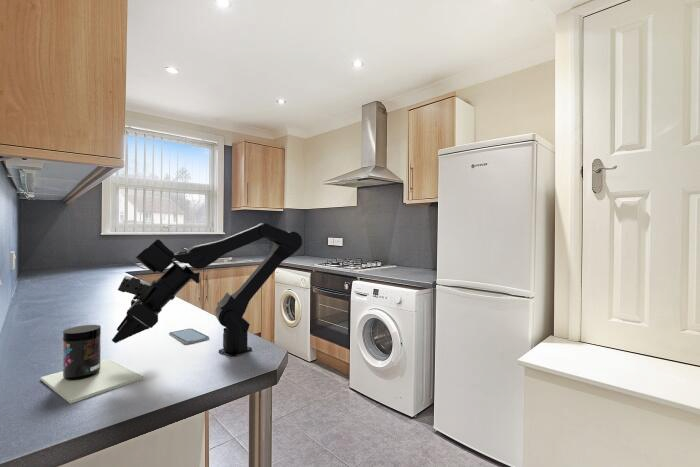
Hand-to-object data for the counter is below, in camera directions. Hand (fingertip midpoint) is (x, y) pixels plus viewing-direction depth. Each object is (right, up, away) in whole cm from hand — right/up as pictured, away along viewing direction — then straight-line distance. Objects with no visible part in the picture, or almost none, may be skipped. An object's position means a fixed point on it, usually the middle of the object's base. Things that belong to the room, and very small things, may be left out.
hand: (116, 336), depth 78 cm
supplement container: (-5, -8, -3) cm, 10 cm away
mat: (-3, -8, -4) cm, 10 cm away
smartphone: (+4, -9, +26) cm, 28 cm away
